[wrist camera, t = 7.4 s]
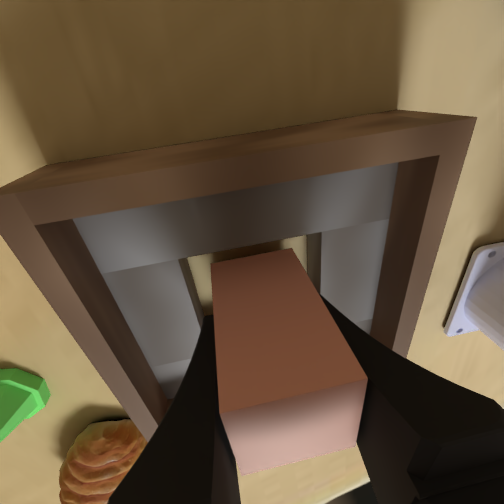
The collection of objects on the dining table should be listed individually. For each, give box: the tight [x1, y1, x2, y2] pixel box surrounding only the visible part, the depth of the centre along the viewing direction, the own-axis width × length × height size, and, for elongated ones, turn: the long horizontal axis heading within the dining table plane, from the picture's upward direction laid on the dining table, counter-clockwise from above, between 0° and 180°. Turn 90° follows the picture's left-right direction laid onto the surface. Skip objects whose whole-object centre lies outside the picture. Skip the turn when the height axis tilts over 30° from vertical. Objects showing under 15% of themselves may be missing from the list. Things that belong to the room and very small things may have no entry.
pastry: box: [59, 419, 148, 504], centre depth 20 cm, size 9×7×4 cm
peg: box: [211, 248, 368, 476], centre depth 11 cm, size 4×4×7 cm
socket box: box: [0, 110, 477, 442], centre depth 14 cm, size 15×15×4 cm
